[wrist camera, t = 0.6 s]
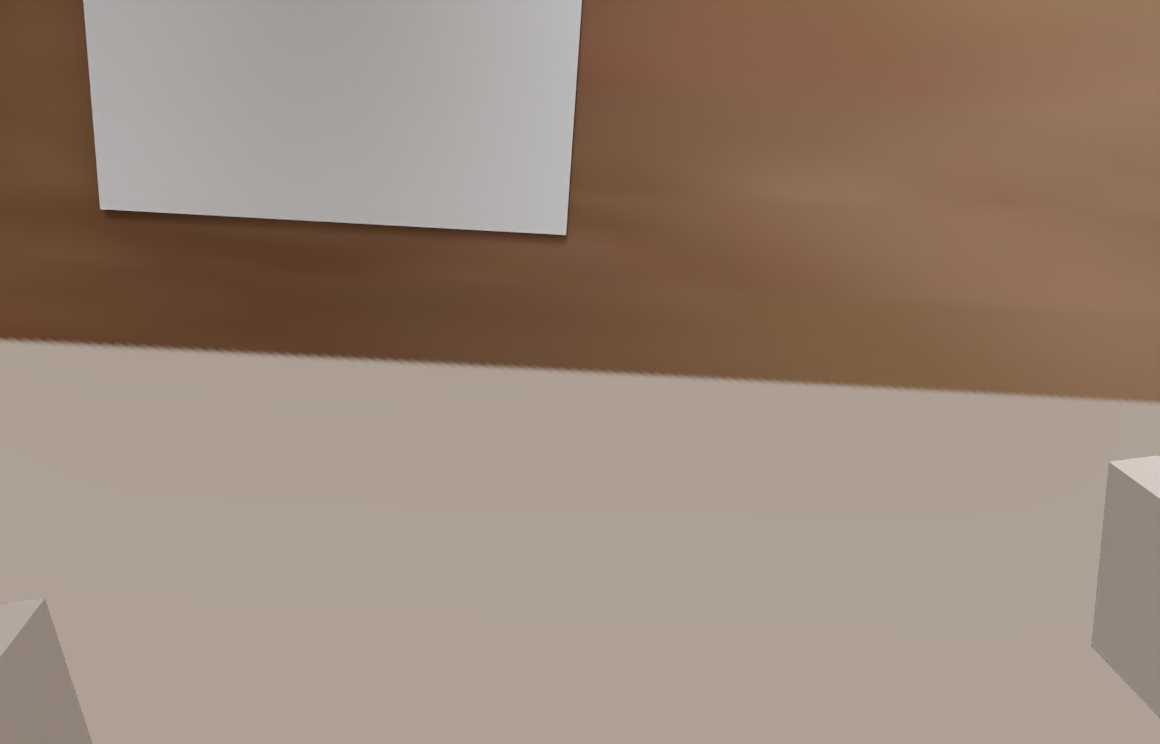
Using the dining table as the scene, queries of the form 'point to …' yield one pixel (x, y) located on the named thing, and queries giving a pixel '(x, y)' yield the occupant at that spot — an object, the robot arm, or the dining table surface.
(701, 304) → the dining table surface
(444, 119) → the paper
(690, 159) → the dining table surface
